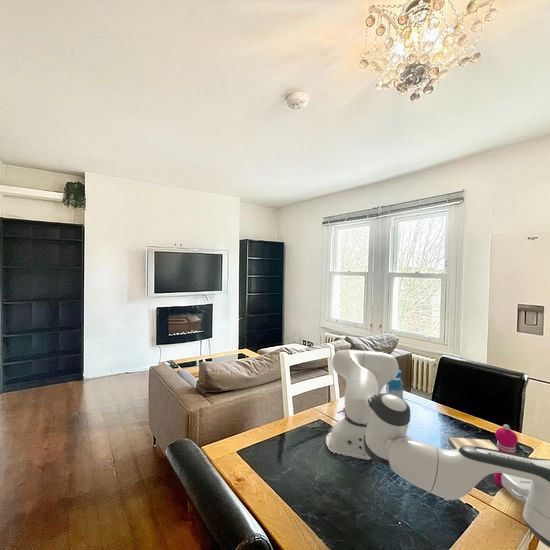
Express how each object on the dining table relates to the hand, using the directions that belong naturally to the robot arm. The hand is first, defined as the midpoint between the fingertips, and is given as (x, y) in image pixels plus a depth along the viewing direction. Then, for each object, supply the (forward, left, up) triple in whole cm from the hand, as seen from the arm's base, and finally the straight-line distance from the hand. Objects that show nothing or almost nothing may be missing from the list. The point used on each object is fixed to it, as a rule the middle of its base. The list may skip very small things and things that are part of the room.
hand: (526, 469), depth 92 cm
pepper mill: (0, +9, -11) cm, 14 cm away
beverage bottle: (-23, +62, -11) cm, 67 cm away
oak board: (0, +26, -11) cm, 28 cm away
